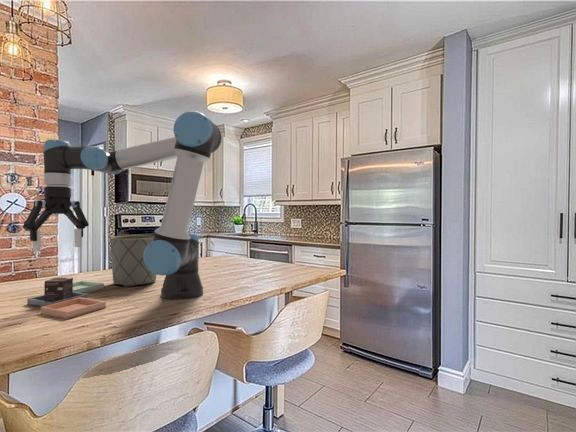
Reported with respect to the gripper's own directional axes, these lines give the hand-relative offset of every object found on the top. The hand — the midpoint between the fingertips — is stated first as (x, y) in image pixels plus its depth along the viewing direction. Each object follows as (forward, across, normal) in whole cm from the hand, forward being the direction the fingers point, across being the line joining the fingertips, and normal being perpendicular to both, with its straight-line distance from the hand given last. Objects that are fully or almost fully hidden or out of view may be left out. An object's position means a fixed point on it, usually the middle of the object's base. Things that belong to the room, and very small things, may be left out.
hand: (58, 249), depth 114 cm
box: (+18, 0, 0) cm, 18 cm away
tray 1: (+18, 0, 0) cm, 18 cm away
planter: (+19, -33, -1) cm, 38 cm away
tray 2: (+18, -14, -10) cm, 25 cm away
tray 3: (+18, +4, +14) cm, 23 cm away
